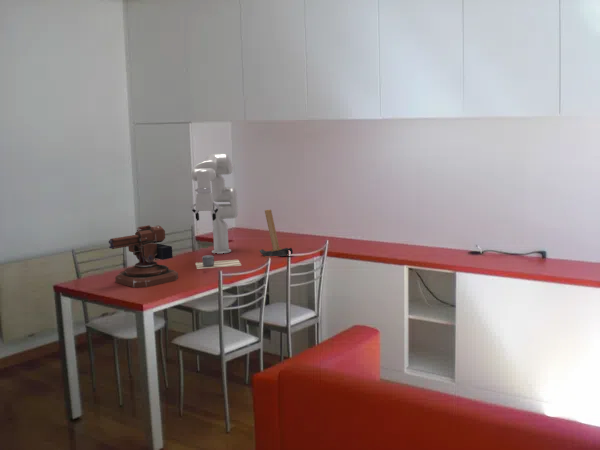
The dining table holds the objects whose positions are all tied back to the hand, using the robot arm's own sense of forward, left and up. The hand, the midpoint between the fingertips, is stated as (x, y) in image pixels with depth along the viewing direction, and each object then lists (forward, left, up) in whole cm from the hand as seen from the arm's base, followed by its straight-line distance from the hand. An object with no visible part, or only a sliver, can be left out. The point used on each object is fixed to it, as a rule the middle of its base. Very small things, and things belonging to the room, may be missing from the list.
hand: (205, 220), depth 408 cm
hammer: (-20, +44, -29) cm, 56 cm away
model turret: (+22, -38, -29) cm, 52 cm away
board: (-3, +6, -28) cm, 29 cm away
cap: (0, 0, -26) cm, 26 cm away
